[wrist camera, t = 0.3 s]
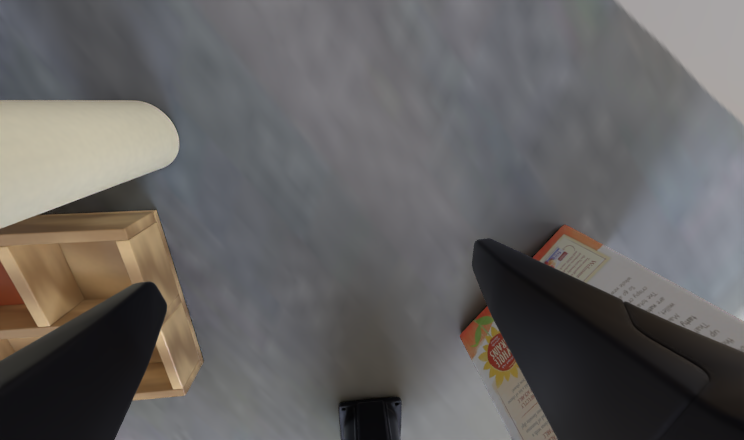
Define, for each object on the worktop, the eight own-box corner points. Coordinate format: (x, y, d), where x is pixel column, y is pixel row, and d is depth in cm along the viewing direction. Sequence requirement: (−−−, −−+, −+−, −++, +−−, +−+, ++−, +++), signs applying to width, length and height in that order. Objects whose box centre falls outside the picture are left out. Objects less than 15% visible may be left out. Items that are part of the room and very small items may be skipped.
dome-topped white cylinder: (187, 168, 20) (-68, 279, 8) (119, 170, 20) (-263, 290, 7) (169, 99, 19) (-191, 98, 6) (95, 100, 18) (-451, 101, 6)
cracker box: (499, 356, 30) (780, 818, 11) (455, 333, 28) (698, 834, 9) (605, 254, 26) (1327, 676, 7) (563, 220, 25) (1368, 657, 5)
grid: (204, 361, 27) (185, 396, 24) (27, 376, 26) (-17, 414, 22) (156, 209, 21) (124, 228, 18) (-73, 219, 20) (-150, 241, 17)
